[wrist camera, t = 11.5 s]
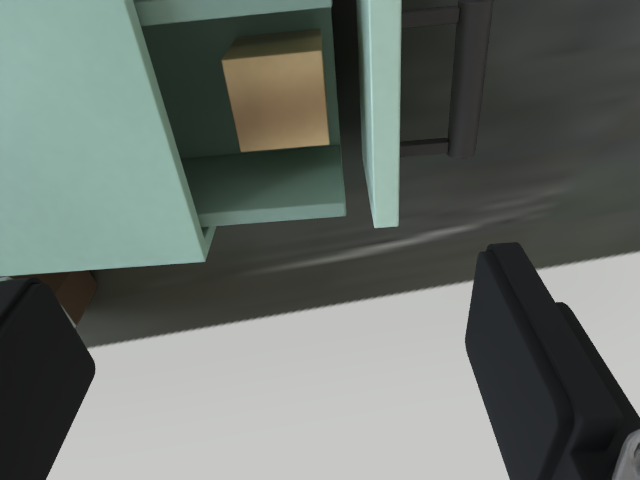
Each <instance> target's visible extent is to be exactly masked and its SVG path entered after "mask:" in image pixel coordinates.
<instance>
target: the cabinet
mask: <svg viewBox="0 0 640 480" xmlns="http://www.w3.org/2000/svg"><path fill="white" fill-rule="evenodd" d="M215 229H216V226H208V227H201V226H200V223H199V219H198V216H197V213H196V209H195V206H194V203H193V199H192V196H191V193H190V189H189V186H188V183H187V179H186V176H185V173H184V169H183V166H182V163H181V159H180V156H179V153H178V149H177V146H176V143H175V139H174V136H173V133H172V129H171V126H170V123H169V119H168V116H167V112H166V109H165V106H164V102H163V99H162V96H161V92H160V89H159V86H158V82H157V79H156V76H155V72H154V69H153V66H152V62H151V59H150V56H149V52H148V49H147V46H146V42H145V39H144V36H143V32H142V29H141V26H140V22H139V19H138V16H137V12H136V9H135V6H134V2H133V0H0V276H14V275H28V274H41V273H55V272H69V271H83V270H97V269H111V268H124V267H138V266H152V265H166V264H180V263H194V262H205V261H206V258H207V255H208V251H209V248H210V245H211V241H212V238H213V235H214V232H215Z"/></svg>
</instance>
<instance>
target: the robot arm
mask: <svg viewBox="0 0 640 480" xmlns="http://www.w3.org/2000/svg"><path fill="white" fill-rule="evenodd" d="M465 344H466V351H467V354H468V357H469V360H470V363H471V366H472V369H473V372H474V375H475V378H476V381H477V384H478V387H479V390H480V393H481V395H482V399H483V401H484V405H485V407H486V410H487V413H488V416H489V419H490V422H491V425H492V428H493V431H494V434H495V437H496V440H497V443H498V446H499V449H500V452H501V455H502V458H503V461H504V463H505V466H506V469H507V472H508V475H509V478H510V480H640V417H639V416H638V414H637V413H636V411H635V409H634V408H633V406H632V405H631V404H630V402H629V400H628V398H627V397H626V395H625V394H624V392H623V391H622V389H621V387H620V386H619V384H618V383H617V381H616V380H615V378H614V377H613V375H612V373H611V372H610V370H609V368H608V367H607V365H606V364H605V362H604V361H603V359H602V357H601V356H600V354H599V353H598V351H597V350H596V348H595V346H594V345H593V343H592V342H591V340H590V338H589V337H588V335H587V334H586V332H585V330H584V329H583V327H582V326H581V324H580V323H579V321H578V319H577V318H576V316H575V315H574V313H573V312H572V310H571V309H570V308H569V307H568V305H566V304H565V303H563V302H556V303H555V301H554V300H553V298H552V297H551V295H550V293H549V291H548V290H547V288H546V287H545V285H544V283H543V282H542V280H541V278H540V277H539V275H538V273H537V272H536V270H535V268H534V267H533V265H532V263H531V262H530V260H529V258H528V257H527V255H526V253H525V252H524V250H523V248H522V247H521V245H520V244H519V243H517V242H514V243H500V244H490V245H488V247H487V249H486V251H485V252H479V254H478V258H477V264H476V271H475V277H474V284H473V290H472V297H471V303H470V310H469V317H468V323H467V330H466V337H465ZM94 375H95V363H94V360H93V358H92V357H91V355H90V353H89V352H88V350H87V348H86V347H85V345H84V343H83V342H82V340H81V338H80V336H79V335H78V333H77V331H76V330H75V328H74V326H73V325H72V323H71V321H70V320H69V318H68V316H67V315H66V313H65V311H64V309H63V308H62V306H61V304H60V303H59V301H58V299H57V298H56V296H55V294H54V293H53V291H52V289H51V288H50V286H49V285H47V284H44V283H43V282H42V281H41V280H40V279H38V278H22V279H9V280H7V281H5V282H4V283H2V284H1V286H0V480H46V478H47V476H48V474H49V472H50V469H51V468H52V465H53V463H54V461H55V459H56V457H57V455H58V453H59V450H60V448H61V446H62V444H63V442H64V439H65V438H66V435H67V433H68V431H69V429H70V427H71V425H72V423H73V420H74V418H75V416H76V414H77V412H78V409H79V408H80V406H81V403H82V401H83V399H84V397H85V395H86V393H87V391H88V388H89V386H90V384H91V382H92V380H93V378H94Z"/></svg>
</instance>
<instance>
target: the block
mask: <svg viewBox="0 0 640 480" xmlns="http://www.w3.org/2000/svg"><path fill="white" fill-rule="evenodd" d="M221 62H222V67H223V71H224V76H225V81H226V86H227V90H228V95H229V100H230V105H231V109H232V114H233V119H234V123H235V128H236V133H237V138H238V142H239V147H240V151H241V152H250V151H262V150H273V149H285V148H297V147H309V146H321V145H329V144H330V142H329V117H328V102H327V90H326V78H325V66H324V54H323V42H322V30H321V29H311V30H301V31H291V32H280V33H270V34H260V35H250V36H240V37H236V38H235V40H234V41H233V43H232V44H231V46H230V48H229V49H228V51H227V52H226V54H225V55H224V57H223V59H222V60H221Z"/></svg>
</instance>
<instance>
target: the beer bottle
mask: <svg viewBox="0 0 640 480" xmlns="http://www.w3.org/2000/svg"><path fill="white" fill-rule="evenodd" d="M22 278H38V279H40V280H41V281H42V282H43V283H44V284H47V285H49V286H50V288H51V289H52V291H53V293H54V294H55V296H56V298H57V299H58V301H59V303H60V304H61V306H62V308H63V309H64V311H65V313H66V315H67V316H68V318H69V320H70V321H71V323H72V325H73V326H74V328H75V329H76V327H77V325H78V323H79V321H80V319H81V318H82V316H83V314H84V312H85V310H86V308H87V306H88V305H89V303H90V301H91V299H92V297H93V295H94V292H95V290H96V288H97V283H96V281H95V280H94V278H93V276H92V275H91V273H90V272H89V270H83V271H69V272H55V273H41V274H28V275H14V276H0V286H1V284H2V283H4V282H5V281H7V280H9V279H22Z"/></svg>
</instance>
